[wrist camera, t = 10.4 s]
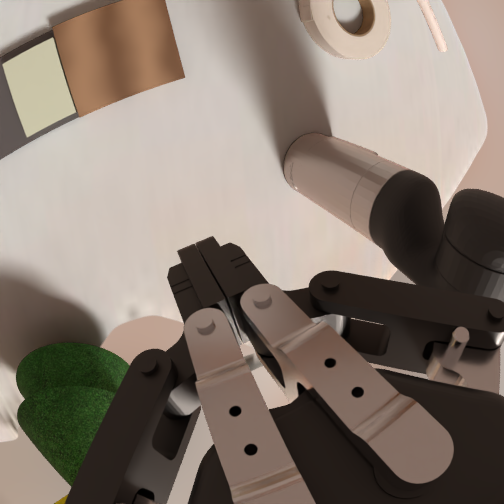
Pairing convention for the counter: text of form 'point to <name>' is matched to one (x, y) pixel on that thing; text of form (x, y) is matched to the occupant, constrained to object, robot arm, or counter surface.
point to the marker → (433, 25)
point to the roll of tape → (337, 38)
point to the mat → (5, 113)
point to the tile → (39, 87)
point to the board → (117, 52)
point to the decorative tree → (66, 400)
